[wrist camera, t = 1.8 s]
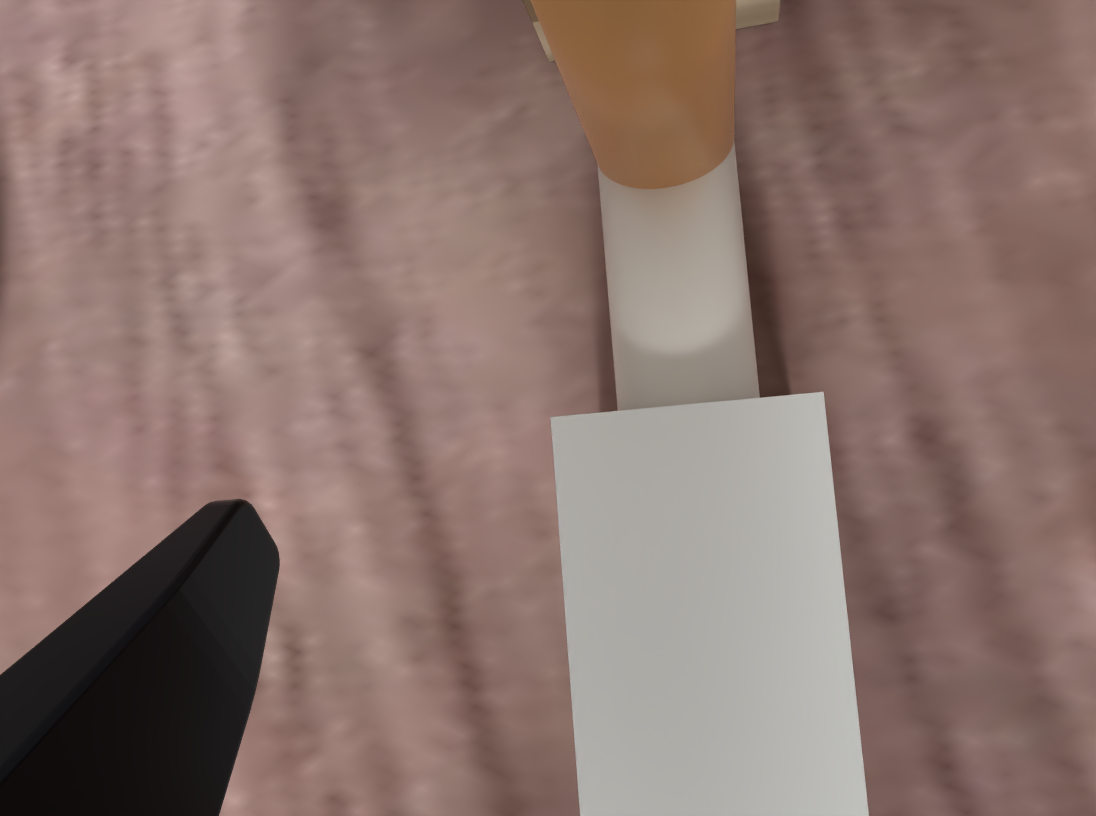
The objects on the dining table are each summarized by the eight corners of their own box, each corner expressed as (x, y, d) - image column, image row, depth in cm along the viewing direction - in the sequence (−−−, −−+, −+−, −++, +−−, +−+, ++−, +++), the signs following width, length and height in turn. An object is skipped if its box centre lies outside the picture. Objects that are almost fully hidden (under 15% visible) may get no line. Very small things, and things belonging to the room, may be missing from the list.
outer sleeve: (833, 786, 21) (879, 921, 14) (628, 787, 22) (587, 913, 15) (795, 418, 22) (823, 391, 15) (600, 435, 23) (550, 417, 16)
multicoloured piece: (789, 732, 19) (905, 1203, 6) (652, 734, 19) (522, 1170, 7) (721, 38, 20) (711, -630, 8) (596, 60, 21) (411, -530, 9)
